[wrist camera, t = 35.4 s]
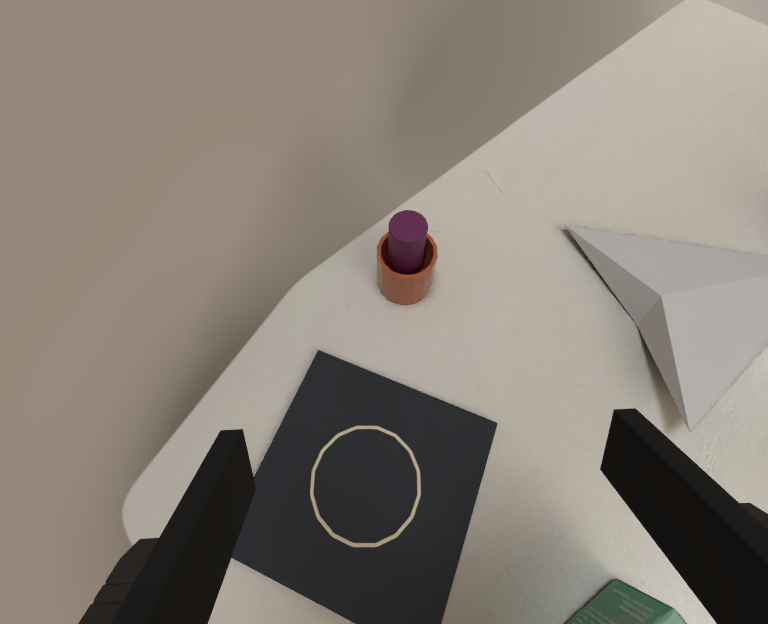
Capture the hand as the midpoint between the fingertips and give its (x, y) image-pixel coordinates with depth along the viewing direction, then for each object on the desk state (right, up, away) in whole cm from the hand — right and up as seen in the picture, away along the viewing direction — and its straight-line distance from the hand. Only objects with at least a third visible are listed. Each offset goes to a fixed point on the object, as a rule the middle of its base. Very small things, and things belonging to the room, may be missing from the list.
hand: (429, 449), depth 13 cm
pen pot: (+1, +9, +30) cm, 32 cm away
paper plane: (+32, +9, +30) cm, 45 cm away
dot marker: (+1, +9, +30) cm, 31 cm away
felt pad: (-3, -11, +22) cm, 25 cm away
